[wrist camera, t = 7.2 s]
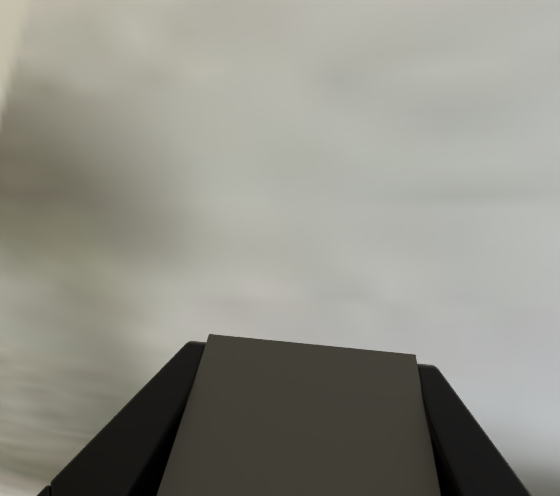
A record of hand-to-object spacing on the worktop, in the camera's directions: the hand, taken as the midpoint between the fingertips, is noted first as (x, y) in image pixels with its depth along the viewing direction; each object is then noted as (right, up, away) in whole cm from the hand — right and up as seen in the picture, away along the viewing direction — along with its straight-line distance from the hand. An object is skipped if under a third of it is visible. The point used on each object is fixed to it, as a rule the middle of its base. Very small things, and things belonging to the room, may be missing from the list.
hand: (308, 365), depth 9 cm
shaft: (0, -8, +6) cm, 10 cm away
